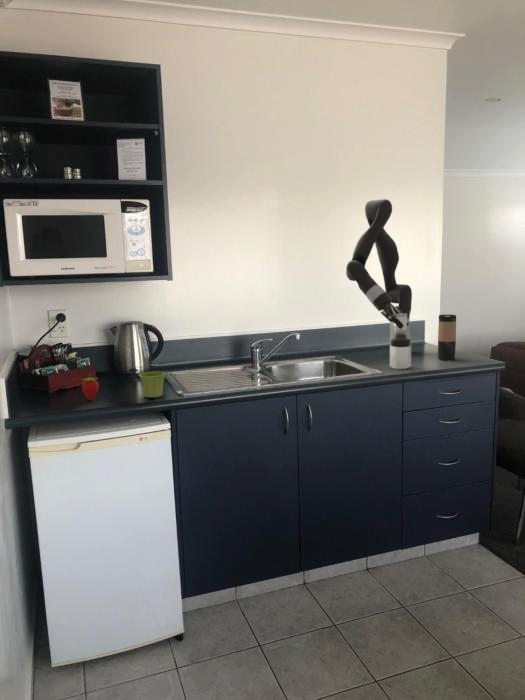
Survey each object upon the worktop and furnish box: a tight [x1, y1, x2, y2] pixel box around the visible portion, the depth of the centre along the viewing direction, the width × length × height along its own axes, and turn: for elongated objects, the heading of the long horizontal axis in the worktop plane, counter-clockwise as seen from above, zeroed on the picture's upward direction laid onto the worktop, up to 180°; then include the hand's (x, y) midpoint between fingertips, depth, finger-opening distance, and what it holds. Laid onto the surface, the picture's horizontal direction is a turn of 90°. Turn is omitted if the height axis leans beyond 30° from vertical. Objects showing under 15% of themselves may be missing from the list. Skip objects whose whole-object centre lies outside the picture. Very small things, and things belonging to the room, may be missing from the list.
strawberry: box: [81, 373, 100, 400], centre depth 201 cm, size 6×8×10 cm
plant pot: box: [138, 370, 166, 398], centre depth 203 cm, size 9×9×9 cm
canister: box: [394, 313, 407, 338], centre depth 238 cm, size 5×5×10 cm
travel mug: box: [437, 314, 457, 361], centre depth 254 cm, size 8×8×20 cm
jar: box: [389, 338, 412, 370], centre depth 241 cm, size 9×8×12 cm
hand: (404, 326), depth 237 cm, fingers closed on canister, 5 cm apart
